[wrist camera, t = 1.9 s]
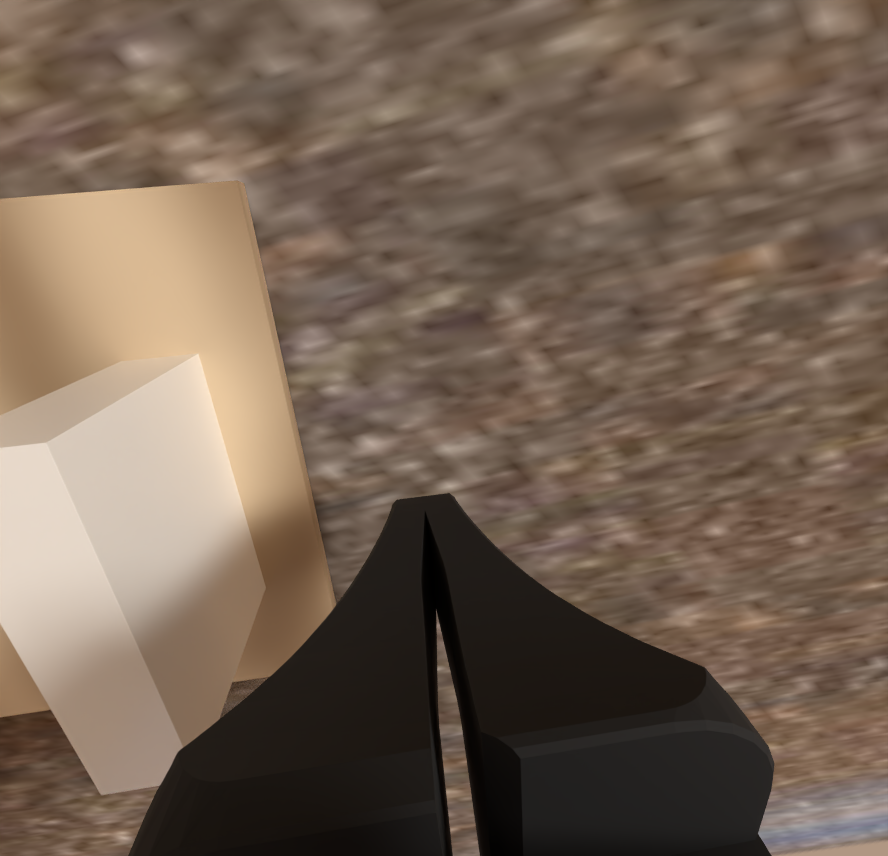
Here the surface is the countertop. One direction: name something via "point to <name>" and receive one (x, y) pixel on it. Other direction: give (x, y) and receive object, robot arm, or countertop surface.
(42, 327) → the mat
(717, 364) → the countertop surface
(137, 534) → the block
